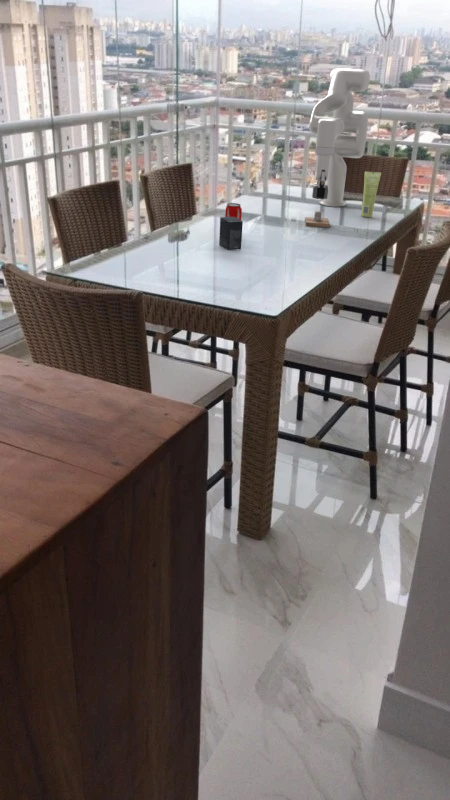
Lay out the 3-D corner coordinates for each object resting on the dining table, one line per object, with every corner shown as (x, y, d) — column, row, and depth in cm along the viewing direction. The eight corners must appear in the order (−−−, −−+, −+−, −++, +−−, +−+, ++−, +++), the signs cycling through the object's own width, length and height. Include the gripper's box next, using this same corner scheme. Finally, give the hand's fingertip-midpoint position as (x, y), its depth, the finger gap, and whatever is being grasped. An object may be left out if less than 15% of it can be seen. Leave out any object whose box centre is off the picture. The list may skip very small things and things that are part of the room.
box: (241, 249, 259) (243, 220, 254) (227, 250, 257) (229, 221, 252) (232, 244, 265) (233, 216, 261) (218, 245, 263) (219, 216, 258)
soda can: (242, 234, 279) (244, 204, 273) (236, 238, 273) (238, 207, 268) (228, 232, 281) (229, 202, 275) (221, 235, 276) (223, 204, 270)
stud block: (304, 220, 305) (305, 208, 303) (327, 221, 305) (329, 210, 303) (305, 226, 297) (306, 213, 294) (329, 227, 296) (330, 215, 294)
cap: (311, 195, 298) (313, 183, 296) (326, 196, 298) (327, 184, 296) (312, 198, 293) (313, 186, 291) (327, 199, 293) (328, 187, 290)
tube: (366, 214, 322) (372, 170, 313) (375, 216, 319) (381, 172, 310) (358, 215, 319) (364, 171, 310) (367, 218, 316) (373, 173, 307)
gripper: (314, 147, 295) (309, 191, 303) (316, 153, 280) (311, 199, 288) (332, 148, 295) (327, 192, 303) (335, 154, 279) (330, 200, 287)
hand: (319, 195), depth 295 cm, fingers closed on cap, 6 cm apart
